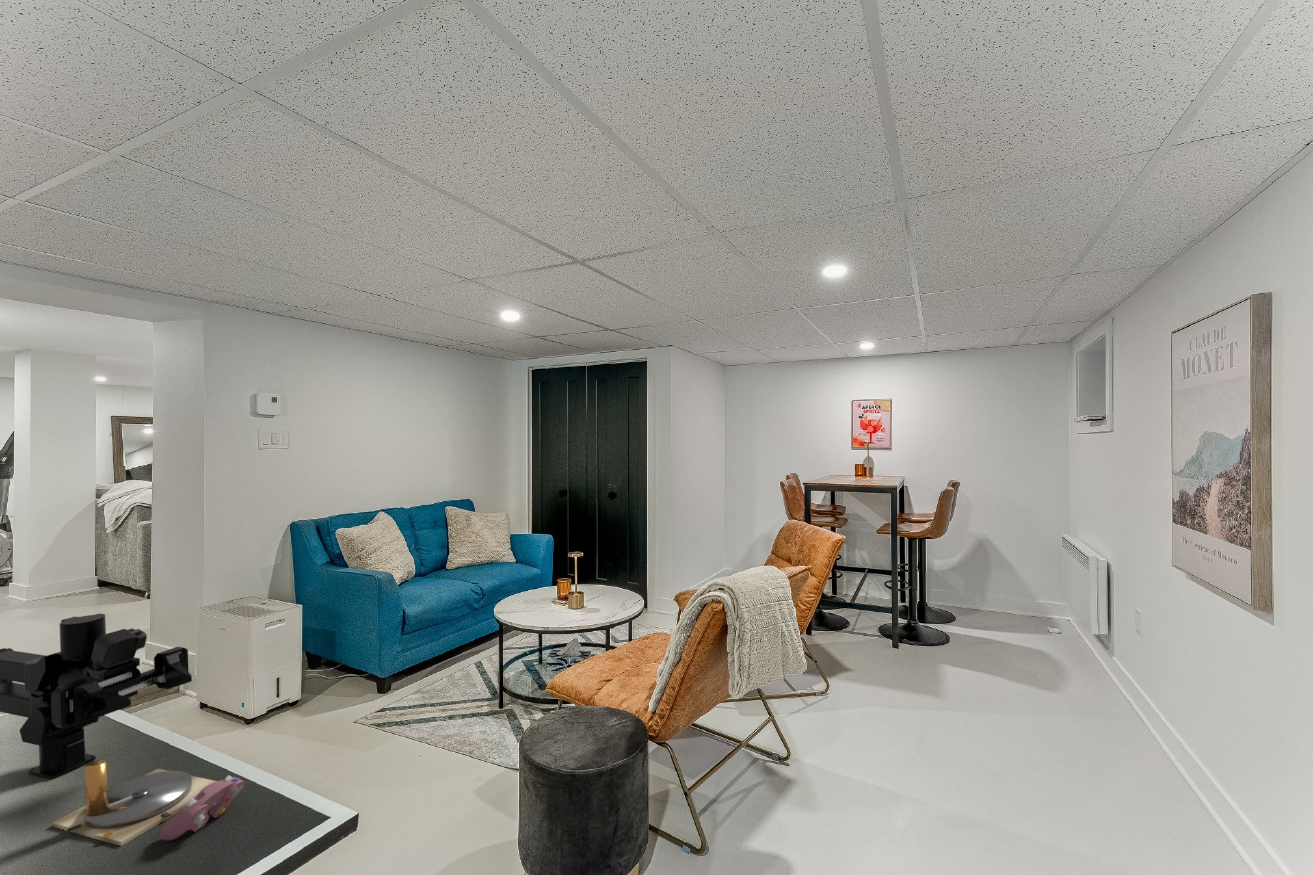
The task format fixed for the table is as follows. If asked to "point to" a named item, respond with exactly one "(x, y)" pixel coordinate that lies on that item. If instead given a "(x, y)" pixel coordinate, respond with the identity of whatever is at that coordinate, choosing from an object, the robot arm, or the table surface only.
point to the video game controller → (203, 807)
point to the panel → (128, 832)
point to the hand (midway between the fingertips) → (161, 690)
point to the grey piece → (130, 796)
